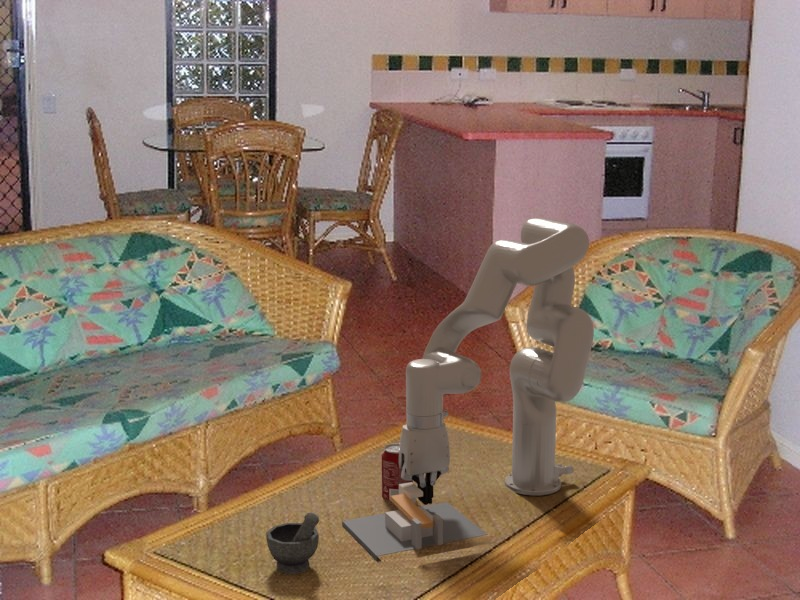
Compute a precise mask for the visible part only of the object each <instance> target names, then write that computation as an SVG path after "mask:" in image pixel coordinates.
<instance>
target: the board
mask: <svg viewBox="0 0 800 600" xmlns="http://www.w3.org/2000/svg"><path fill="white" fill-rule="evenodd" d="M417 507H418V508H419V509H421V510H422V511H423V512H424V513H425V514H426V515H427V516H428V517H429V518H430V519H431V520H432V521H433V522H434V527H430V528H424V529H422V523H421V522H420V521H419V520H418V519H417V518H415V519H412V521H411V520H410V519H409V518H408V517H407V516H406V515H405V514H404V513H403V512H402V511H401V510H399V509H396V510H390V511H385V513H379V514H372V515H368V516H363V517H357V518H356V517H355V518H352V519H346V520H342V521H341V526H342V528H343V529H344V530H345V531H346V532H347V533H348V534H349V535H350V536H351V537H352V538H353V539H354V540H355V541H356V542H357V543H358V544H359V545H360V546H361V547H362V549H364V551H366V552H367V553H368V555H370V556H371V557H372V559H374V560H375V562H376V563H377V562H378V563H379V562H382V560H381V559H380V556H385V555H390V554H395V553H401V552H405V551H406V552H407V551H412V550H422V548H425V547H427V548H428V547H430V546H431V547H432V546H436V545H437V546H442V545H443V544H445V543H446V544H447V543H451V542H456V541H462V540H467V539H471V538H472V539H473V538H476V537H481V536H482V537H483V536H487V535H488V533H487V532H485V530H483V529H481V528H480V527H479V526H478V525H477V524H475V523H474V522H473V521H472V520H471V519H469V518H467V516H465V515H464V514H463V513H461V512H460V511H459V510H457V509H456V508H455V507H454V506H453V505H451V504H450V503H449V502H447V501H445V502H440V503H434V504H433V503H432V504H428V505H424V506H421V505H419V506H417Z"/></svg>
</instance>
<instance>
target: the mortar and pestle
mask: <svg viewBox="0 0 800 600" xmlns="http://www.w3.org/2000/svg"><path fill="white" fill-rule="evenodd" d="M303 518H304V519H303V521H302V522H285V523H282V524H278V525H274V526H272V527H271V528H270V529H269V530H268V531H267V532H266V535H265V536H266V541H267V542H266V544H267V548H268V550H269V553H270V555H271V556H272V558H273V560H275V561H276V569H277V571H278V572H280V573H283V574H285V575H298V574H301V573H304V572H306V571H308V569H309V568H310V561H309V560H310V559H311V557H313V556H314V555H315V553H316V552H317V549H318V548H319V547H318V546H319V541H320V540H319V535H320V534H319V531H318V529H317V528H316V526H317V525H318V524H319V522H320V519H319V516H318V515H317V514H316V513H315V512H314V513H313V512H308V513H306V514H305V516H304V517H303Z"/></svg>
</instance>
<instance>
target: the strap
mask: <svg viewBox="0 0 800 600" xmlns="http://www.w3.org/2000/svg"><path fill="white" fill-rule="evenodd" d="M390 502H392V503H393V505H395V507H397V509H398V510H399V509H400V510H401V511H402V512H403V513H404V514H405V515H406V516H407V517H408V518H409V519H410V520H411V521H412V519H415V518H417V519H418V520H419V521H420V522H421V523H422V529H424V528H430V527H434V522H433V521H432V520H431V519H430V518H429V517H428V516H427V515H426V514H425V513H424V512H423V511H422V510H421V509H419V508H418V506H417V504H416V505H415V504H414V503H413V502H412V501H411V500H410V499H409V498H408V497H407V496H406V495H405V494H398V495H393V496H391V501H390Z"/></svg>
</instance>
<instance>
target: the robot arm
mask: <svg viewBox="0 0 800 600" xmlns="http://www.w3.org/2000/svg"><path fill="white" fill-rule="evenodd" d="M520 240H521V241H518V240H517V241H516V240H511V239H500V240H496V241H495V242H493V243H492V244H491V245H490V246H489V247H488V249H487V251H486V253H485V256H484V258H483V260H482V262H481V264H480V266H479V268H478V271H477V272H476V274H475V278H474V280H473V282H472V284H471V286H470V288H469V290H468V292H467V295H466V297H465V299H464V301H463V302H462V303H461V304H460V305H459V306H457V307H456V308H454V310H452V311H451V312H450V313H449V314H448V315H446V317H445V318H444V319H443V320H441V321H440V322H439V324H438V325H436V328H435V329H434V331H433V332H432V335H431V336H430V339H429V341H428V344H427V345H426V347H425V349H424V352H423V354H422V358H420V359H419V358H418V359H414V360H411V361H409V362H408V363H407V365H406V367H405V401H406V403H405V404H406V405H405V406H406V407H405V408H406V409H405V411H406V412H405V413H406V419H405V420H406V421H405V422H406V423H405V424H403V425H402V427H401V433H400V437H399V443H400V446H399V467H400V468H401V469H402V473H401V478H402V479H403V480H408V481H413V483H415V484H417V485H416V486H417V487H418V488H419V489H420V490H422V491H423V497H417V499H418V500H419V502H420V503H421V504H423V505H424V506H428V505H433V499H434V486H435V485H436V483H437V481H438V479H439V478H440V477H441V475H442V476H443V475H445V474H447V473H449V472H450V467H449V466H450V464H451V452H450V451H451V450H450V440H449V434H448V429H447V426H446V423H445V422H444V418H446V417H448V416H449V411H448V410H447V409H446V410H445V409H443V408H444V404H443V403H444V397H443V396H444V395H449V394H450V395H451V394H452V395H453V394H456V395H458V394H466V393H468V392H472V391H473V390H475V389H476V388H477V386H479V384H480V382H481V379H482V371H481V367H480V366H479V365H478V363H477V362H476V361H474V360H473V359H471V358H469V357H467V356H464V355H461V354H459V353H456V352H457V350H458V347H459V346H460V344H461V342H462V341H463V340H464V339H465V337H467V336H468V335H469V334H470V333H471V332H472V331H474V330H476V329H479V328H482V327H483V326H487V325H490V324H492V323H495V322H498V321H500V320H501V319H502V317H503V316H504V313H505V311H506V308H507V306H508V303H509V302H510V300H511V298H512V295H513V293H514V291H515V288H516V287H517V285H518V284H519V285H522V286H527V287H532V286H534V287H533V292H532V297H531V301H530V303H529V310H528V313H527V319H526V332H527V335H529V337H530V338H531V339H533V340H534V341H536V342H539V343H542V344H545V345H547V346H549V347H553V351H550V350H549V351H548V350H546V349H543V348H540V347H532V346H529V347H524V348H522V349H520V350H518V351H517V352H515V354H514V355H513V357H512V359H511V361H510V365H509V380H510V385H511V391H512V403H513V407H512V408H513V410H512V413H513V415H512V442H511V443H512V444H511V445H512V446H511V447H512V448H511V450H512V451H511V453H512V454H511V473H509V474H508V475H506V476H505V478H504V486H505V487H506V488H508V489H510V490H511V491H512V492H514V493H516V494H520V495H524V496H533V497H535V496H548V495H551V494H555V493H556V492H559V490H561V488H562V481H561V477H562V476H563V475H565V476H566V475H571V474H574V471H575V470H574V467H573V465H571V464H569V465H563V464H562V463H561V462H560V463H556V441H557V440H556V437H557V436H556V434H557V433H556V432H557V413H558V412H557V403H556V402H559V403H567V402H569V401H572V400H574V398H576V396H577V395H578V394H579V392H580V391H581V389H582V386H583V383H584V381H585V376H586V372H587V368H588V363H589V359H590V355H591V351H592V346H593V343H594V342H593V341H594V337H595V336H594V335H595V332H594V331H595V330H594V323H593V320H592V317H591V316H590V315H589V314H588V312H586V311H585V310H583V309H582V308H579V307H576V306H572V301H573V296H574V290H575V284H576V277H575V270H574V266H576V265H577V264H579V263H580V262H581V261H583V259H584V258H585V257H586V255H587V254H588V251H589V248H590V239H589V235H588V233H587V231H585V230H584V229H583V228H582V227H581V226H579V225H577V224H573V223H570V222H569V223H568V222H565V221H559V220H554V219H550V218H544V217H534V218H529V219H528V220H526V221H525V222H524V223H523V224H522V227H521V230H520Z"/></svg>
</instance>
